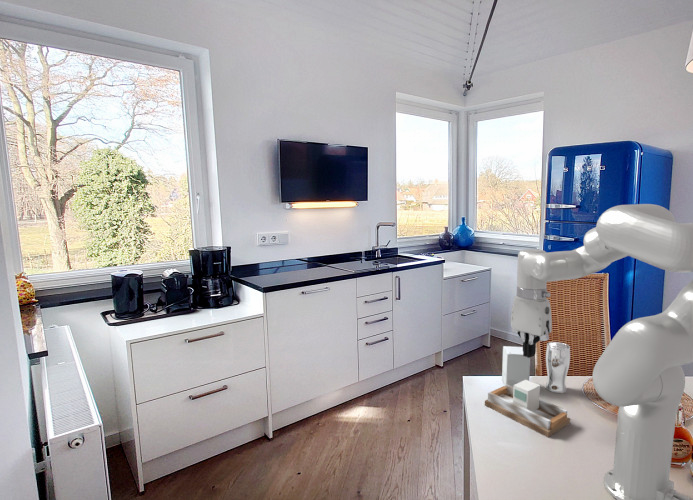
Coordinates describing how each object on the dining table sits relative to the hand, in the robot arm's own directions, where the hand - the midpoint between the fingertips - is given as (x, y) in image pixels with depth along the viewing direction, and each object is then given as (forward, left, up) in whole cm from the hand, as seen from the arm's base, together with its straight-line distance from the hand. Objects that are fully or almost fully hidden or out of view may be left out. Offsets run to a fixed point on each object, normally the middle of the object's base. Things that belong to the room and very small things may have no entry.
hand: (528, 355), depth 115 cm
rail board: (0, 0, -18) cm, 18 cm away
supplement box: (+12, -13, -18) cm, 26 cm away
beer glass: (+3, -22, -18) cm, 29 cm away
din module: (0, 0, -16) cm, 16 cm away
